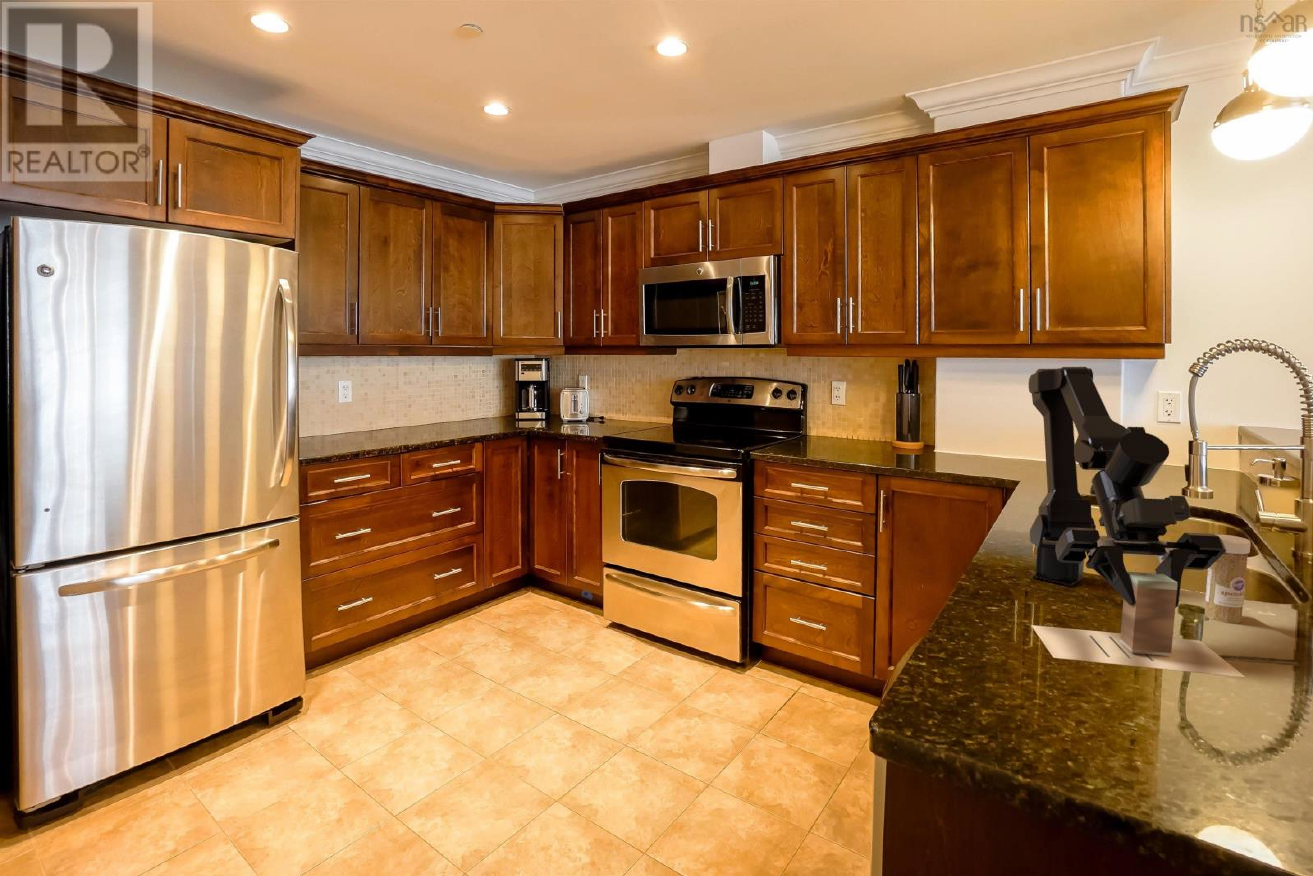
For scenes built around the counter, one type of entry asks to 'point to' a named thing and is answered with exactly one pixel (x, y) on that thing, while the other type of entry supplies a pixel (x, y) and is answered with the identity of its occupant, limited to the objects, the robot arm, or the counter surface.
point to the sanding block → (1149, 614)
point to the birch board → (1114, 652)
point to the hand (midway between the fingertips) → (1153, 605)
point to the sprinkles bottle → (1227, 581)
